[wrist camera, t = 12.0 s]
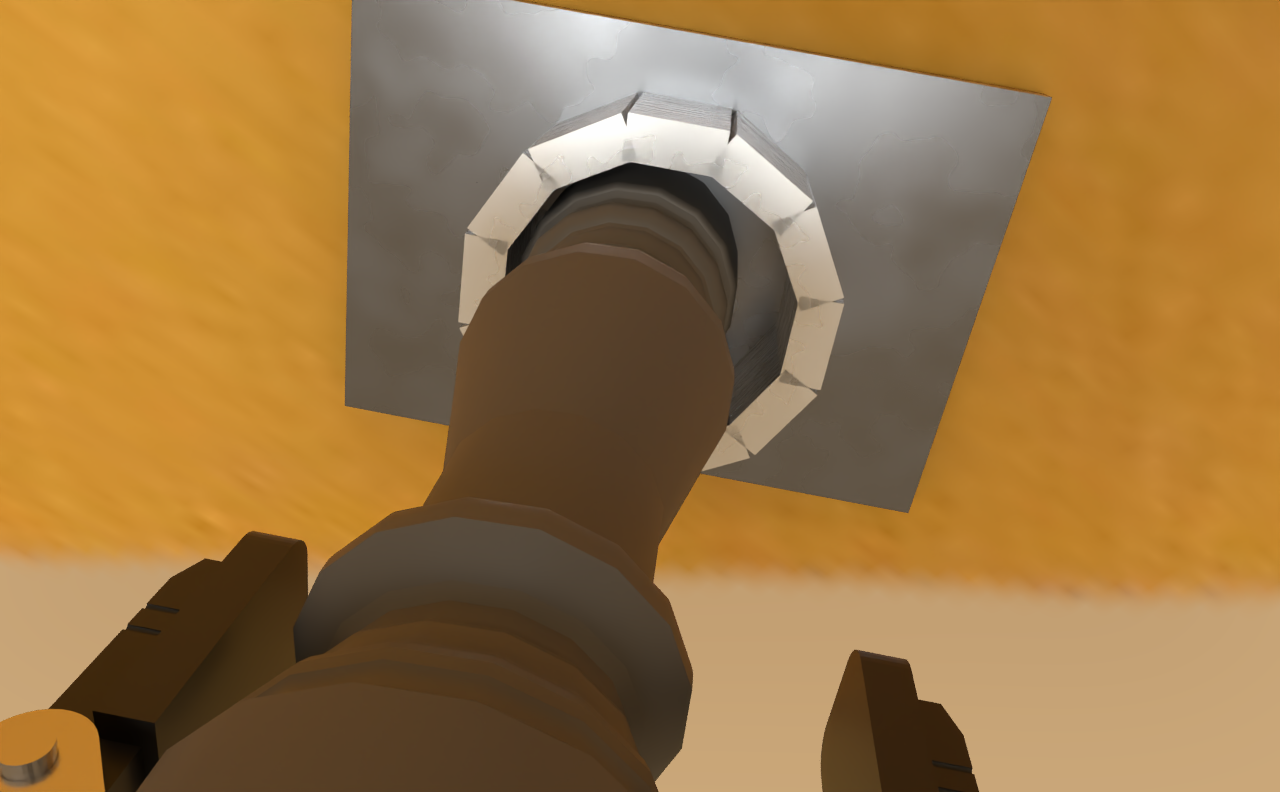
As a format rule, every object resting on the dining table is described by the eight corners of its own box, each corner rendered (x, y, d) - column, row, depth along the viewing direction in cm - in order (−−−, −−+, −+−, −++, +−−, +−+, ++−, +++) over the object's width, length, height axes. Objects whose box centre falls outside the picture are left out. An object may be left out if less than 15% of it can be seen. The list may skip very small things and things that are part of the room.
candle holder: (650, 384, 31) (396, 1558, 8) (503, 265, 29) (-284, 1270, 7) (780, 249, 28) (928, 1391, 6) (625, 113, 27) (34, 895, 4)
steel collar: (1043, 93, 26) (1102, 120, 22) (904, 500, 32) (929, 583, 28) (362, -29, 27) (289, -27, 22) (353, 396, 33) (294, 462, 29)
